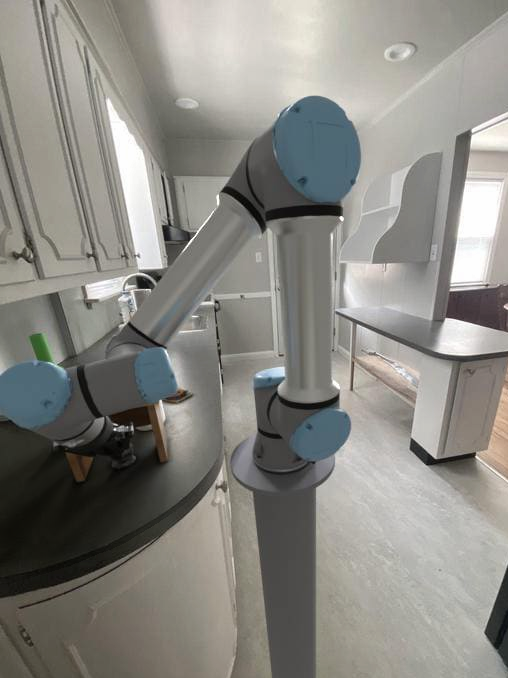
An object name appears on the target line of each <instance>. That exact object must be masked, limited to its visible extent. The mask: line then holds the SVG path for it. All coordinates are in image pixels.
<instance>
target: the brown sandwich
mask: <svg viewBox="0 0 508 678" xmlns="http://www.w3.org/2000/svg"><path fill="white" fill-rule="evenodd" d="M191 396H194V394H193V392H190V391H189V390H185V389H183V388H182V387H178V391H177V393H176V394H174V395H172V396H170V397H167V398H164V399H162V401H165V402H171V403H175V404H179V403H180V402H182V401H184V400H186V399H188V398H189V397H191Z"/></svg>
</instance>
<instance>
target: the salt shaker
mask: <svg viewBox="0 0 508 678" xmlns="http://www.w3.org/2000/svg"><path fill="white" fill-rule="evenodd" d="M111 422H112V423H115V424H117V425H118V426H119V427H121V425H120V423H119V422H118V421H113V419H111ZM116 437H117V438H118V439H119V440H122V435H120V434H118V435H117V436H116ZM134 449H135V445H134V444H133V443H132V442H130V448H129V449H127V450H124V453H123V460H118V461H116V460H114V459H112V458H111V457H109V459H110V460H112V462H111V467H112V468H114V469H124V468H127V467H129V466H131V465H133V464H134V463H135V461H136V459H137V457H136V455H134Z"/></svg>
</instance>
